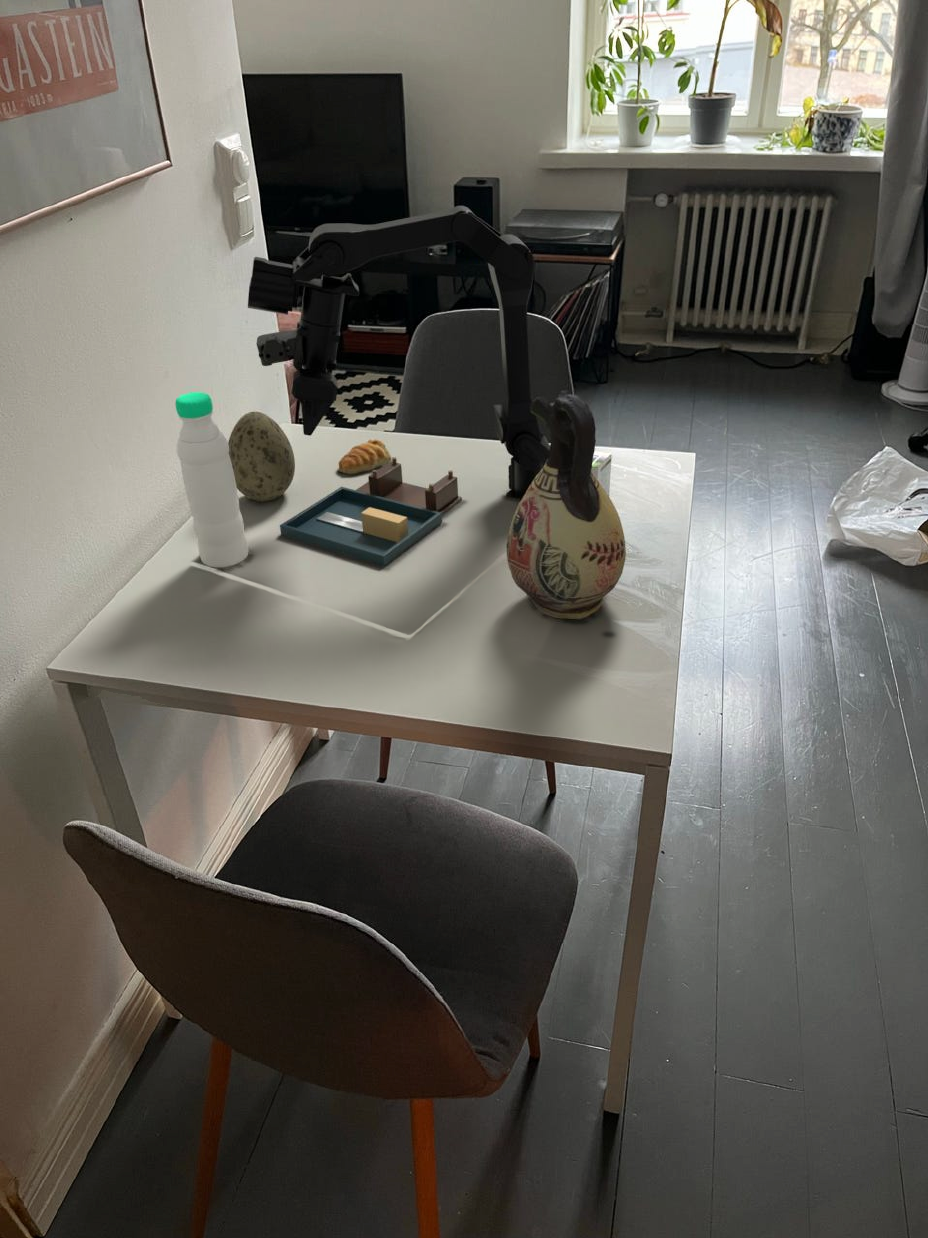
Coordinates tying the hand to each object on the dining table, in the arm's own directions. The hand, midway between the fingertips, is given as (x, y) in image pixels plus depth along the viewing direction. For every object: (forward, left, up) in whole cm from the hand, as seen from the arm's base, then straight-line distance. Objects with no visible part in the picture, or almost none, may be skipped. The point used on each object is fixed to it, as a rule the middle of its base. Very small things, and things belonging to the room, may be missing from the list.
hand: (307, 423), depth 141 cm
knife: (-9, +1, -15) cm, 18 cm away
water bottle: (+4, +18, -16) cm, 24 cm away
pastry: (+5, -18, -16) cm, 24 cm away
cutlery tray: (-9, +1, -15) cm, 18 cm away
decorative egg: (+12, 0, -16) cm, 19 cm away
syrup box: (-41, -10, -16) cm, 45 cm away
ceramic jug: (-46, +5, -16) cm, 49 cm away
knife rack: (-9, -11, -15) cm, 21 cm away
